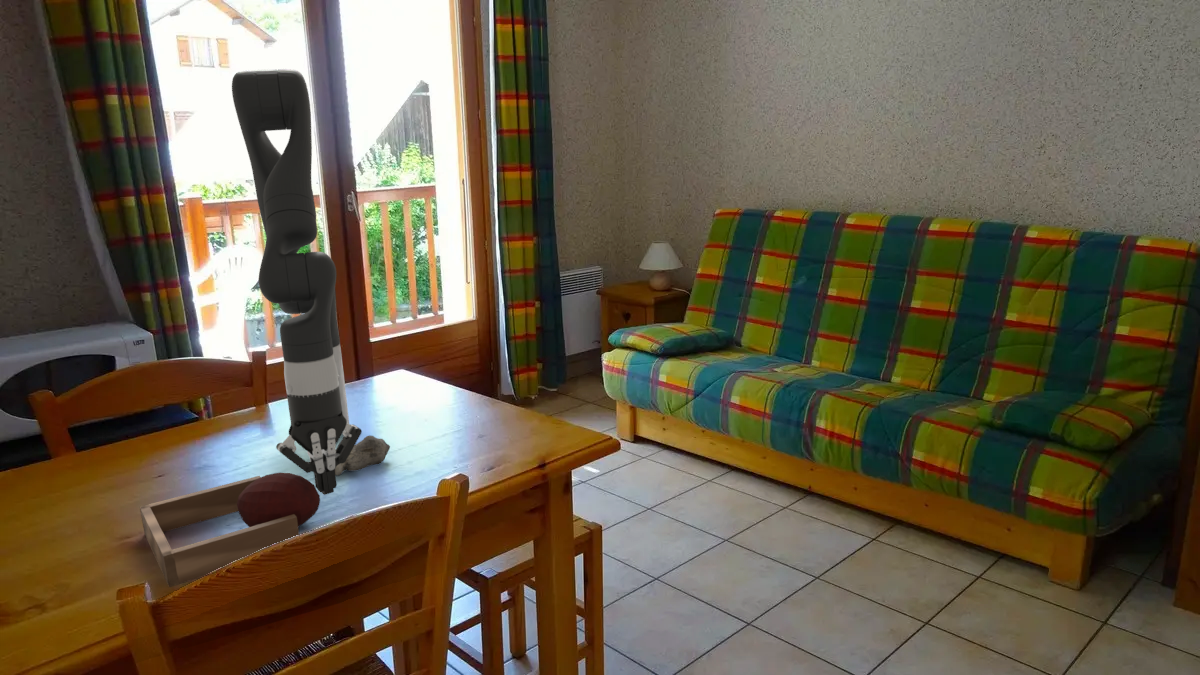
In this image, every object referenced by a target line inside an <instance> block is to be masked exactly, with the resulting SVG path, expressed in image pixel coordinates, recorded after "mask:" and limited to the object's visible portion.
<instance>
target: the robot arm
mask: <svg viewBox="0 0 1200 675" xmlns="http://www.w3.org/2000/svg"><path fill="white" fill-rule="evenodd" d="M231 94H232V100H233V106H234V108H235V109H234V110H235V112H236V116H237V117H236V118H237V119H238V124H239V126H240V130H241V134H242V136H243V141H244V143H245V146H246V147H245V148H246V150H247V154H248V157H249V162H250V166H251V171H252V175H253V181H254V183H253V184H254V187H255V193H256V198H257V199H256V200H257V204H258V209H259V213H260V218H261V222H262V224H263V225H262V226H263V229H264V232H265V237H266V239H265V246H264V251H263V255H262V259H261V262H260V268H259V271H258V272H259V273H258V274H259V275H258V285H259V289H260V292H261V294H262V295H263V297H264V298H265V299H266V300H267V301H268V302H270V303H272V304H275V305H277V304H278V306H279V308H280V310H281V311H282V312H283V313H285V314H288V315H296V316H294V317H293V316H292V317H290V318H288V319H286V320H284V321H283V322H281V324H280V327H279V332H280V333H279V334H280V342H281V351H282V356H283V368H284V369H283V374H284V375H283V376H284V382H285V390H286V397H287V398H286V399H287V405H288V411H289V419H290V425H289V429H288V436H287V437H286V439H284V440H283V442H278V443H277V445H276V447H275V449H276V450H277V451H278V452H279V453H280V454H282V455H283V456H284V457H285V458H287V459H288V460H289V461H291V462H292V463H293V464H295V465H296V466H297V467H298V468H300V470H302V471H304V472H305V473H306V474H309V473H313V478H314V483H315V484H314V486H315V488H316V490H317V492H319V493H321V494H323V496H325V495H329V494H332V493H334V492H335V491H334V489H336V488H337V484H338V483H337V478H336V477H337V475H335V468H336V466H337V465H339V464H340V463H344V462H345V461H346V459H347V458H348V456H349V454H350V452H351V451H352V449H353V447H354V445H356V444H357V443H358V440H359V438H360V437H361V435H362V432H363V431H362V429H361V428H360V427H358V426H357V425H355V424H350V418H349V409H348V399H347V391H346V382H345V373H344V366H343V357H342V356H343V355H342V348H341V340H340V334H339V325H338V315H337V314H338V313H337V300H336V299H337V298H336V283H337V268H336V264H335V262H334V261H333V259H332V257H330V255H328V254H327V253H325V252H323V251H310V252H309V251H307V252H299V250H300V249H301V248H303V247H305V246H309V245H311V244H312V243H313V242H314V241H315V240H316V238H317V235H318V225H317V213H316V212H317V211H316V205H315V198H314V191H313V187H312V185H313V184H312V157H313V156H312V154H313V153H312V152H313V145H312V144H313V142H312V140H313V139H312V115H311V114H312V111H311V102H310V97H309V95H310V94H309V91H308V85H307V82H306V79H305V77H304V76H303V74H302V73H301V72H300V71H299V70H296V69H287V68H285V69H284V68H283V69H282V68H281V69H252V70H251V69H250V70H249V69H248V70H242V71H238V72H236V73H235V74H234V76H233V77H232V81H231ZM286 130H287V131H290V134H289V139H288V141H287V144H286V146H285V149H284V150H283V152H282V154H281V153H280V151H278V150H277V148H276V147H275V146H274V144H273V143H272V141H271V140H270V138H269V137H268V135H267V133H266V132H269V131H271V132H272V131H286ZM298 252H299V253H298ZM341 436H342V438H341ZM340 438H341V440H340ZM339 440H340V442H339ZM338 442H339V444H338V445H337V443H338ZM295 443H297V444H298V445H299V446H300V447H302V448H303V450H305V451H306V452H307V453H306V454H308V458H309V461H308V460H307V461H306V460H305V459H304V458H302V456H300V454H299V455H298V454H297V446H296V445H295ZM336 445H337V447H336Z"/></svg>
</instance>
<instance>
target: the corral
mask: <svg viewBox="0 0 1200 675" xmlns="http://www.w3.org/2000/svg"><path fill="white" fill-rule="evenodd" d="M260 477H261V476H260V475H257V476H254V477H249V478H245V479H241V480H237V481H233V482H230V483H224V484H222V485H218V486H214V487H211V488H210V487H209V488H207V489H202V490H199V491H195V492H191V493H187V494H182V495H179V496H175V497H172V498H168V499H165V500H160V501H156V502H152V503H149V504H145V505H140V506H139V512H140V517H141V522H142V528H143V532H144V536H145V538H146V540H147V543H148V544H149V547H150V549H151V551H152V553H153V555H154V557H155V560H156V562H157V564H158V566H159V569H160V571H161V572H162V575H163V577H164V579H165V581H166V584H167V585H168V588H170V587H174V586H176V585H180V584H184V583H186V582H189V581H192V580H196V579H199V578H202V577H201V576H203V577H205V576H204V575H206V574H208V573H210V572H212V571H214V570H216V569H218V568H220V567H223V566H225V565H227V564H229V563H231V562H233V561H235V560H238V559H240V558H242V557H245V556H247V555H250V554H252V553H254V552H256V551H258V550H260V549H262V548H264V547H267V546H270V545H272V544H274V543H277V542H280V541H283V540H285V539H288V538H291V537H293V536H296V535H299V536H300V530H299V527H298V522H297V517H296V516H295V514H293V515H289V516H286V517H282V518H279V519H276V520H272V521H269V522H265V523H262V524H259V525H255V526H252V527H249V526H248V527H245V528H242V529H238V530H236V531H235V530H234V531H232V532H231V531H230V532H228V533H225V534H222V535H219V536H214V537H210V538H208V539H204V540H201V541H197V542H194V543H191V544H186V545H183V546H181V547H177V548H173V549H172V548H171V545H170V543H169V542H168V540H167V537H166V535H165V534H164V533H165V532H169V531H173V530H176V529H180V528H184V527H187V526H191V525H194V524H197V523H198V524H199V523H202V522H205V521H209V520H212V519H216V518H218V517H222V516H223V517H224V516H226V515H230V514H233V513H237V512H239V511H238V508H237V501H238V497H239V496H240V494H241V493H242V492H243V490H244V489H245V488H246V487H247V486H248V485H250V484H251V483H252V482H254V481H255V480H257V479H258V478H260ZM206 576H207V575H206Z"/></svg>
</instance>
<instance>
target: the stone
mask: <svg viewBox="0 0 1200 675" xmlns="http://www.w3.org/2000/svg"><path fill="white" fill-rule="evenodd" d="M390 448H391V446H390V445H389V444H388V443H387V442H386V441H385V440H384V439H383V438H377V437H375V436H373V435H370V434H369V435H366V436H365V437H364V438H363V439H362V440H360V441H359V442H357V443H356V444H355V445H354V447H353V449H352V451H351V452H350V454H349V456H348V458H347V459H346V461H345V462H344V463H340V464H339V465H337V466H336V468H335V475H336V477H337V476H341V475H342V474H343V472H345V471H348V472H357V471H361V470H364V469H366V468H368V467H371V466H376V465H380V464H382V463H383V462H384V461H385V459H386V456H387V454H388V452H390Z"/></svg>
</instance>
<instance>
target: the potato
mask: <svg viewBox="0 0 1200 675" xmlns="http://www.w3.org/2000/svg"><path fill="white" fill-rule="evenodd" d="M320 503H321V496H320V494H319V491H318V490H317V488H316V486H315V484H313V483H312V482H311V481H310V480H308V479H307V478H305V477H304V476H302V475H299V474H295V473H291V472H275V473H271V474H270V473H269V474H266V475H263V476H260V478H258V479H257V480H255V481H254V482H252V483H251V484H250V485H248V486H247V487H246V488H245V489H244V490H243V492H242V493H241V494H240V496H239V497H238V501H237V508H238V511H237V512H238V513H239V516H240V518H241V520H242V521H243V523H245V525H246V526H248V527H252V526H255V525H259V524H262V523H265V522H269V521H272V520H276V519H279V518H282V517H286V516H289V515H293V514H295V516H296V517H297V522H298V528H299V527H300V526H302V525H303V524H306V522H307V521H309V520H310V519H311V518H312V517H313V516H314V515H315V514H316V513H317V512H318V510H319V506H320Z"/></svg>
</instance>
